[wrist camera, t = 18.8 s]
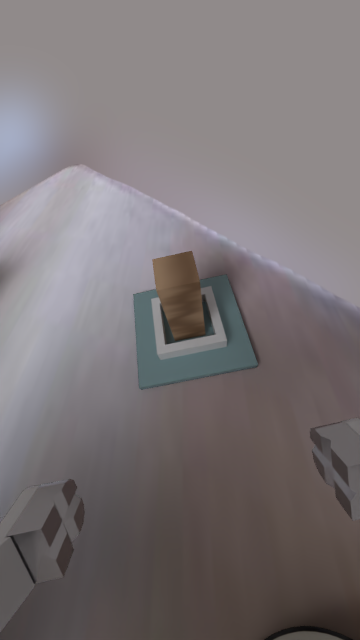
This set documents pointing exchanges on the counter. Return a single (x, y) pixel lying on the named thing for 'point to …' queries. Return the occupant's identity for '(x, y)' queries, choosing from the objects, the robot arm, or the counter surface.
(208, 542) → the counter surface
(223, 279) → the socket plate
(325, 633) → the dog bowl
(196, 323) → the walnut block
